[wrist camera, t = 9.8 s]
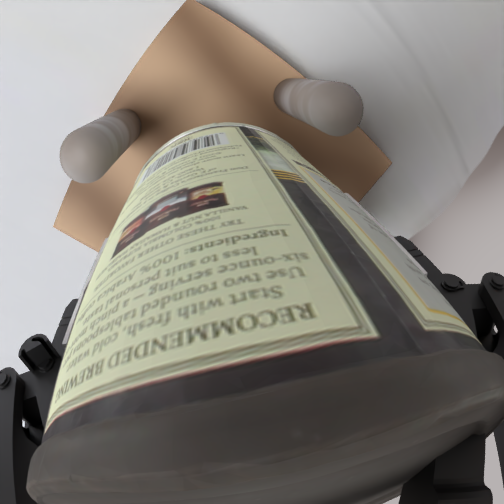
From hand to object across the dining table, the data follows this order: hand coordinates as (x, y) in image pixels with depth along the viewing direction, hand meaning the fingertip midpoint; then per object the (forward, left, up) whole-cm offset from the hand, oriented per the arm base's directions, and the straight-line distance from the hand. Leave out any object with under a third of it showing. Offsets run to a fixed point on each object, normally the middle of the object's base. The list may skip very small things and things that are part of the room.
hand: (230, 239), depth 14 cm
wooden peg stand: (0, 0, -8) cm, 8 cm away
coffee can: (0, 0, -2) cm, 2 cm away
